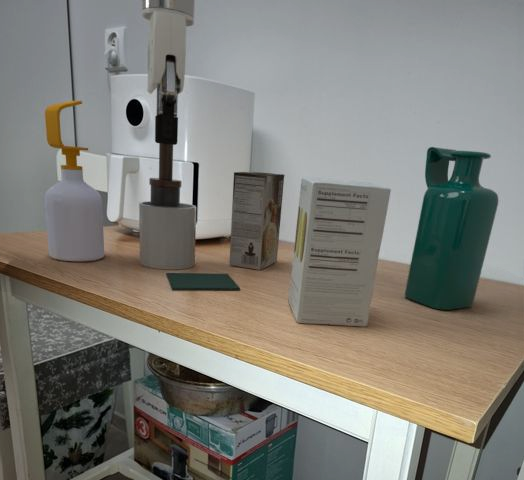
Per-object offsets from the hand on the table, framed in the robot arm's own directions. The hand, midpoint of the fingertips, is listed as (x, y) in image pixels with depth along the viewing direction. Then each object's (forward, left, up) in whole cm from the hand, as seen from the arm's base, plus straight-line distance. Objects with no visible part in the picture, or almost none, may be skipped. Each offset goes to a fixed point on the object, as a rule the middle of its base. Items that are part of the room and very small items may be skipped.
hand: (166, 142), depth 78 cm
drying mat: (+4, -13, -20) cm, 24 cm away
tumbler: (0, 0, -20) cm, 20 cm away
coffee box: (+16, +1, -20) cm, 26 cm away
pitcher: (+39, -23, -20) cm, 50 cm away
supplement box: (+18, -29, -20) cm, 40 cm away
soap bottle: (-15, +4, -20) cm, 25 cm away
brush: (0, 0, -10) cm, 10 cm away
